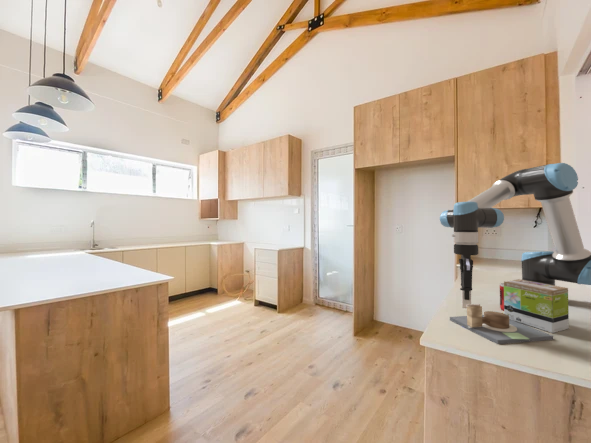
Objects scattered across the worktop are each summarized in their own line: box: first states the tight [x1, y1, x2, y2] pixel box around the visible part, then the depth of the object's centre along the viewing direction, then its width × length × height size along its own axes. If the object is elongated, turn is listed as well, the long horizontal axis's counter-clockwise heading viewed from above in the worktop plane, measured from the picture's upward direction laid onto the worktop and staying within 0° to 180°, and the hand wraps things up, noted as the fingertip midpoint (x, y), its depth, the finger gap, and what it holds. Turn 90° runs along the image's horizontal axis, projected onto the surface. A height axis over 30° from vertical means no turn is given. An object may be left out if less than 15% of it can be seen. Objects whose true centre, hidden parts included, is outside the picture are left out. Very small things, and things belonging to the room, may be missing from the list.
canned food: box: [499, 282, 504, 312], centre depth 107 cm, size 8×8×11 cm
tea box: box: [503, 278, 570, 334], centre depth 94 cm, size 15×10×15 cm, turn 21°
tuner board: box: [449, 314, 554, 345], centre depth 89 cm, size 21×21×1 cm
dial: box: [466, 303, 509, 329], centre depth 89 cm, size 15×7×8 cm, turn 98°
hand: (466, 307), depth 93 cm, fingers closed
